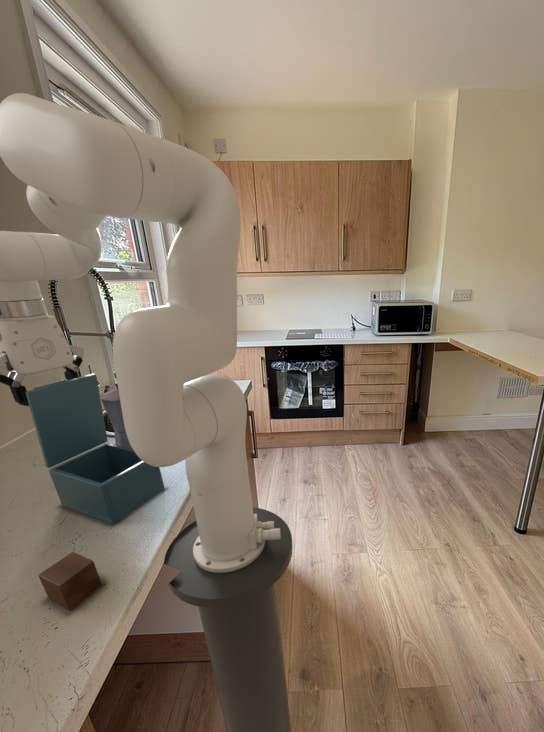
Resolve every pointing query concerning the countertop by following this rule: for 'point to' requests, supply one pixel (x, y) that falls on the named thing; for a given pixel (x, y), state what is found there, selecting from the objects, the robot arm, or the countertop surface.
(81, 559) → the block
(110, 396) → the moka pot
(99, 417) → the bin lid
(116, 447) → the bin
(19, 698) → the countertop surface
